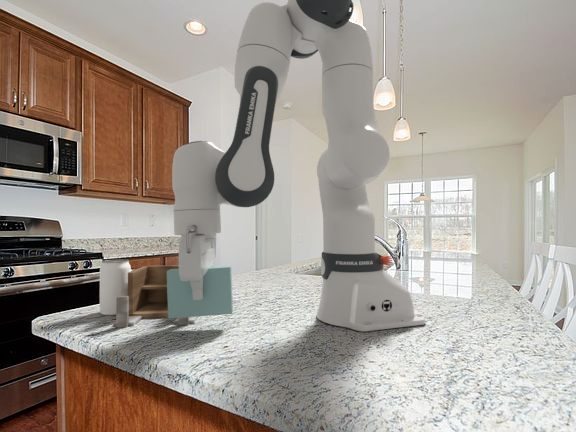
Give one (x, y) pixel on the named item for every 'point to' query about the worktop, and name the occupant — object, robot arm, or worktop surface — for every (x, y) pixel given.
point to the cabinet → (146, 297)
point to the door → (214, 298)
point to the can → (113, 284)
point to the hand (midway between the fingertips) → (200, 295)
